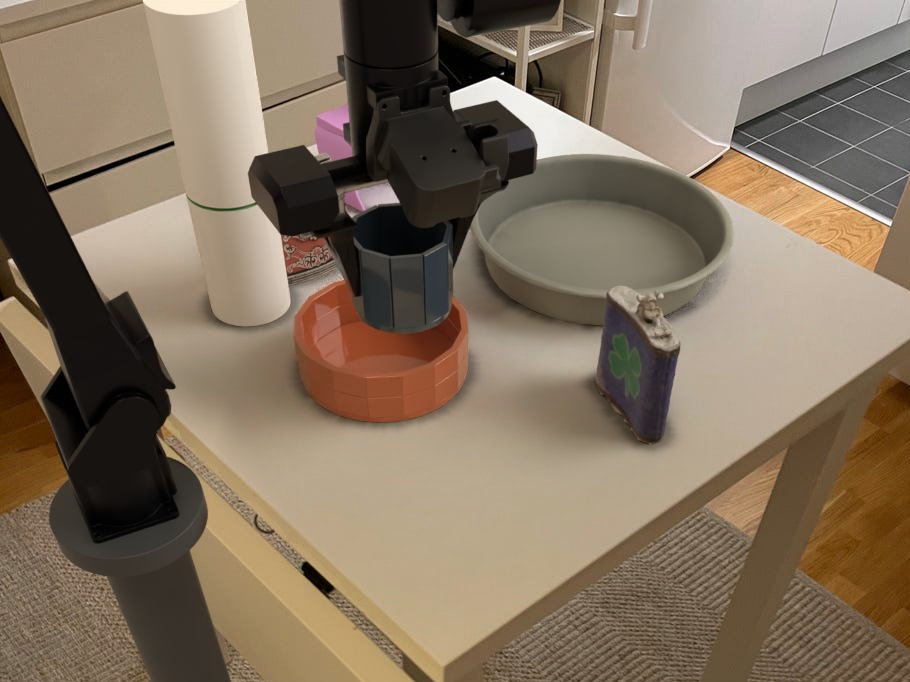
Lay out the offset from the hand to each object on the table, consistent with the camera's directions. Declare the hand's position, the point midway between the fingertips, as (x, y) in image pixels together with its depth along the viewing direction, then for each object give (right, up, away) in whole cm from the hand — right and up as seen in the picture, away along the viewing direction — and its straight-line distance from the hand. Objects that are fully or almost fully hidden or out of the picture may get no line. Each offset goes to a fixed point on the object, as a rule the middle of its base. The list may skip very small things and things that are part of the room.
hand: (401, 280), depth 72 cm
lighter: (-10, +9, +22) cm, 26 cm away
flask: (+18, -7, +10) cm, 22 cm away
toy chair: (-6, +21, +31) cm, 38 cm away
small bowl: (0, -1, +2) cm, 2 cm away
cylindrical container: (-15, +4, +18) cm, 24 cm away
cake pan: (+17, +10, +24) cm, 31 cm away
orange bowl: (-3, -3, +13) cm, 13 cm away
